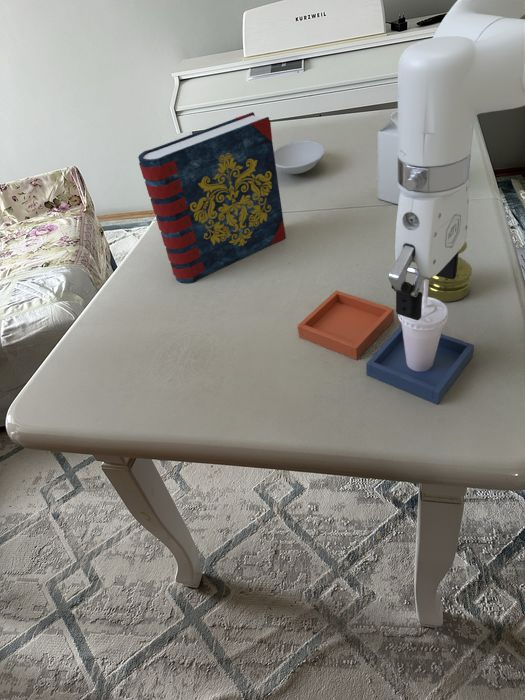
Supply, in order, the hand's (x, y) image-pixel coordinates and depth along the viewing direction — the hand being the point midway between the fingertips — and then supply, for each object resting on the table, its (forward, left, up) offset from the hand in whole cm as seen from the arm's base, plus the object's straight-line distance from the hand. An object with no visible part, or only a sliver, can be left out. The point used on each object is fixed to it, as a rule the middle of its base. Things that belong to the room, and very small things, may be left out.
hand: (426, 295), depth 68 cm
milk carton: (+29, -47, -13) cm, 56 cm away
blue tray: (0, 0, -13) cm, 13 cm away
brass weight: (+5, -19, -13) cm, 23 cm away
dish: (+60, -50, -13) cm, 79 cm away
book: (+48, -10, -13) cm, 51 cm away
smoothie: (0, 0, -12) cm, 12 cm away
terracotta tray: (+14, -2, -13) cm, 19 cm away
